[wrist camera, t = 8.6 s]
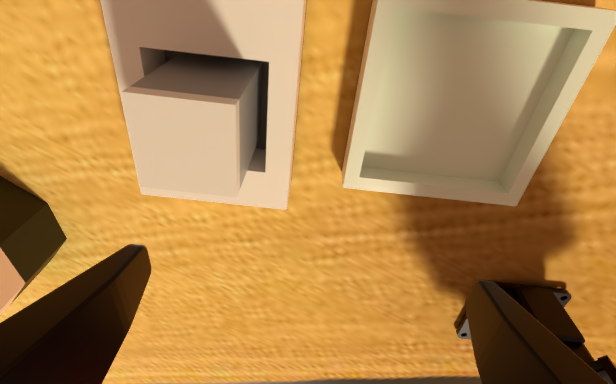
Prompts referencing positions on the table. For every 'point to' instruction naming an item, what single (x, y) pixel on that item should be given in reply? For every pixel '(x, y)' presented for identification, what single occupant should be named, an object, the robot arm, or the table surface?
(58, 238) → the wine bottle
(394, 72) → the tray
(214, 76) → the plug
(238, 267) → the table surface
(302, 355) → the table surface
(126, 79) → the power strip
